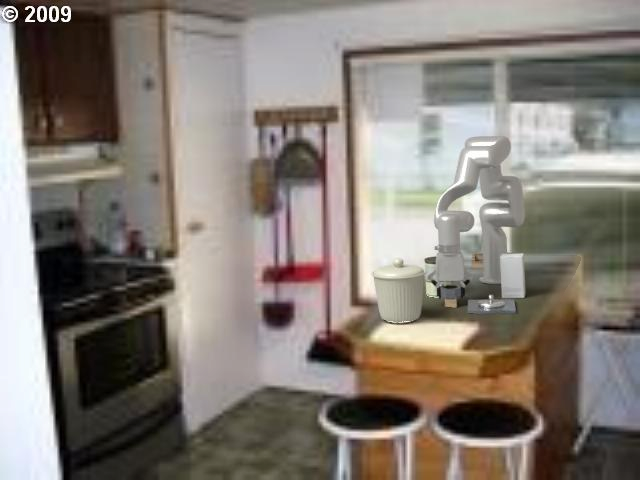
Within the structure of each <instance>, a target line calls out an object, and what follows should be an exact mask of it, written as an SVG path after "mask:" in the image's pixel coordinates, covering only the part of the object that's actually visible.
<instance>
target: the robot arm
mask: <svg viewBox="0 0 640 480" xmlns="http://www.w3.org/2000/svg"><path fill="white" fill-rule="evenodd" d="M511 149H512V145H511V141H510V139H509V138H508V137H507V136H505V135H489V136H487V135H485V136H484V135H483V136H471V137H468V138H467V139H466V140H465V141H464V148H462V149H461V150H460V153H459V157H458V162H457V166H456V171H455V175H454V179H453V180H454V181H453V183H452V184H451V185H450V186H448V188H446V190H445V191H444V192H443V193H442V194H441V195H440V197H439V198H438V200H437V203H436V207H435V211H434V216H433V223H434V227H435V228H436V230H437V237H438V244H437V245H435V246H434V251H438V252H437V253H436V255H435V256H436V270H434V271H433V272H432V273H431V274H430V275H428V277H427V278H428V279H429V280H430V281H431V283H432V284H433V285H434V286H435V287H436V288H437V296H439V298H438V300H441V299H442V298H441V292H440V288H441V287H440V284H441V282H456V283H457V282H459V283H460V286H461V298H460V299H464V297H465V296H466V287H467V286H468V285H469V284H470V282H471V281H472V280H473V279H474V274H472V273H471V272H470V271H468V270H467V269H465V259H464V255H463V254H464V253H463V252H462V251H461V234H460V233H465V232H466V233H467V232H469V231H471V230H472V229H473V228H474V226H475V217H474V214H473V213H472V212H470V211H466V210H448V209H449V207H450V206H451V204H452V203H453V202H456V200H458V199H460V198H462V197H464V196H467V195H468V194H471V193H472V192H473V193H474V191H476V190H477V188H478V183H479V188H480V194H481V196H482V198H483V199H484V200H488V201H491V202H486V203H484V204H482V205H481V206H480V209H479V212H478V214H479V215H478V216H479V220H480V227H481V234H482V235H481V237H482V243H481V244H482V253H483V260H482V261H483V269H482V270H483V271H482V274H483V275H482V276H481V277H479V280H478V281H479V282H480V283H483V284H488V285H489V284H490V285H497V284H498V285H501V269H500V256H501V255H502V254H507V252H508V240H507V239H508V237H507V235H506V233H505V231H504V229H503V228H520V227H521V226H522V225H523V224H524V223H525V203H524V202H525V201H524V190H523V183H522V181H521V180H520V178H519V177H518V176H515V175H503V173H502V168H501V167H502V166H501V164H502V163H503V162H505V161H506V159H507V158H508V157H509V155H510V154H511ZM493 201H498V202H493ZM501 201H507V202H501ZM435 274H436V280H437V281H438V282H436V281H435V280H434V279H433V278H432V277H433V276H434V275H435ZM466 276H467V278H466ZM465 278H466V280H465Z"/></svg>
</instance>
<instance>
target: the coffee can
mask: <svg viewBox="0 0 640 480" xmlns="http://www.w3.org/2000/svg"><path fill="white" fill-rule="evenodd" d="M424 270H425V271H426V274H425V275H424V278H425V292H426V294H425V296H426V295H427V296H429V297H428V298H430V297H434V298H433V299H439V296H437V288H436V287H435V286H434V285H433V284H432V283H431V281H430V280H429V279H428V278H427V277H428V275H430V274H431V273H432V272H433V271H434V270H436V255H435V256H430V257H425V258H424ZM432 278H433V279H434V280H435V281H436V282H438V281H437V280H436V274H435V275H434V276H433V277H432ZM444 285H454V284H453V282H441V284H440V287H441V286H444ZM427 296H426V297H427Z"/></svg>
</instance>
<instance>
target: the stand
mask: <svg viewBox="0 0 640 480" xmlns="http://www.w3.org/2000/svg"><path fill="white" fill-rule="evenodd" d="M445 306H446V307H452V308H457V307H458V298H457V299H444V307H445Z"/></svg>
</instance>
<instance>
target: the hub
mask: <svg viewBox="0 0 640 480" xmlns="http://www.w3.org/2000/svg"><path fill="white" fill-rule="evenodd" d="M468 313H475V314H474V315H476V314H477V313H478V314H479V315H480V314H485V315H487V314H488V315H489V314H491V315H492V314H495V315H496V314H505V315H506V314H509V315H510V314H511V315H512V314H517V309H516V303H515V298H510V299H496V298H495V299H494V294H488V299H468V300H467V314H468ZM478 314H477V315H478Z"/></svg>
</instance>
